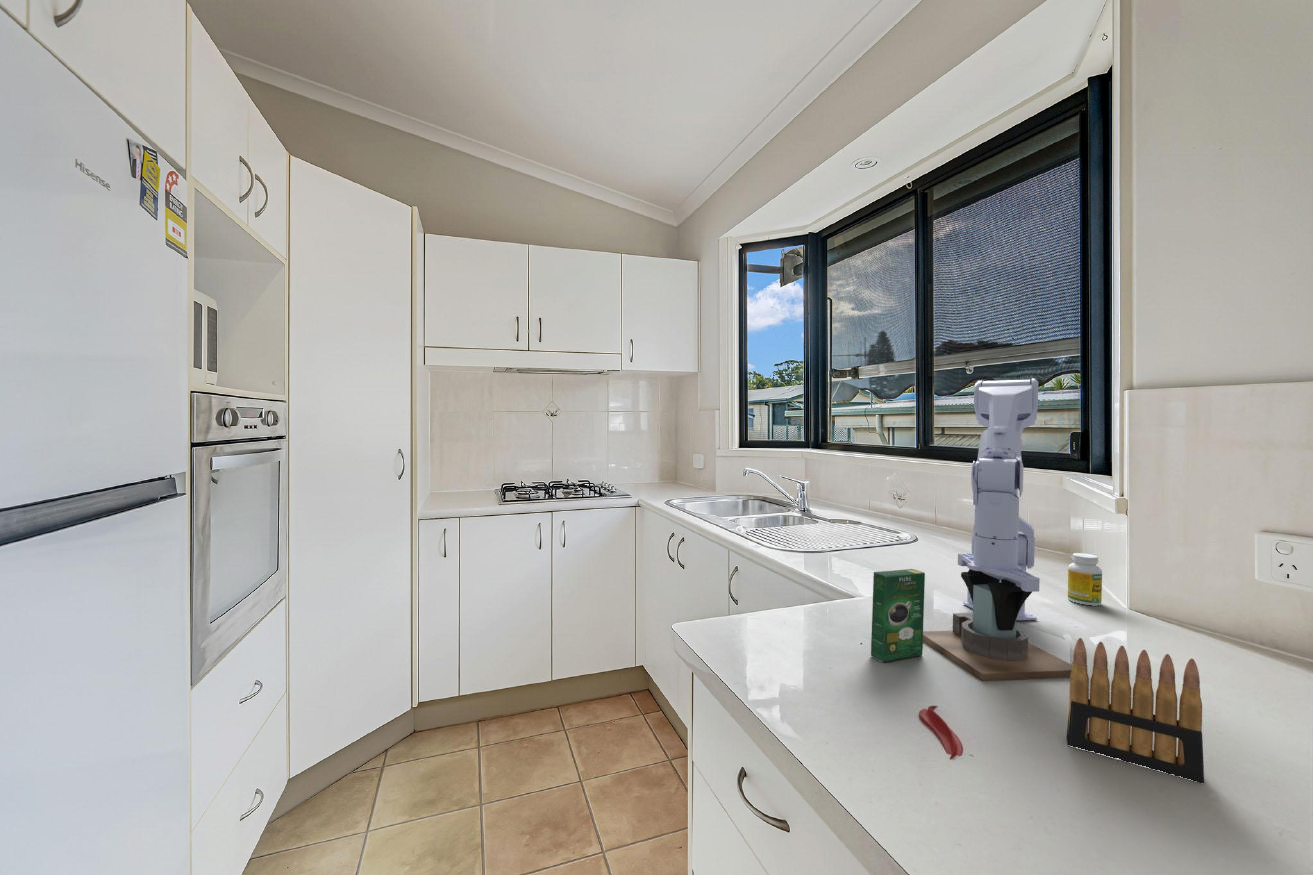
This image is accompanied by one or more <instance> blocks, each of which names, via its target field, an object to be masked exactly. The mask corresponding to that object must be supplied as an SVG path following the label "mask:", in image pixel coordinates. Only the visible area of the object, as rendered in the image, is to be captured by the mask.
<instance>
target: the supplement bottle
mask: <svg viewBox="0 0 1313 875" xmlns="http://www.w3.org/2000/svg"><path fill="white" fill-rule="evenodd" d="M1098 564H1099V557H1098V555H1095V554H1090V553H1084V552H1082V553H1081V552H1074V553H1072V563H1070V564H1068V568H1067V600H1069V601H1070V600H1071V601H1074V602H1076V603H1075V604H1077V603H1080V604H1079V605H1081V604H1087V605H1092V606H1091V607H1099V606H1101V605H1102V595H1103V594H1102V592H1103V570H1102V568H1101V567H1100V566H1098ZM1071 601H1070V602H1071ZM1074 602H1073V603H1074ZM1098 605H1099V606H1098Z"/></svg>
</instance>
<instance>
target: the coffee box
mask: <svg viewBox="0 0 1313 875" xmlns="http://www.w3.org/2000/svg"><path fill="white" fill-rule="evenodd" d="M872 578H873V581H872V582H873V583H872V584H873V585H872V608H871V609H872V610H871V611H872V612H871V616H872V617H871V641H870V657H873V659H874V660H875V659H876V661H878V662H881V663H886V662H894V661H897V660H902V659H903V660H904V659H909V658H916V657H919V656H923V649H924V641H923V631H924V616H925V614H924V613H925V588H926V587H925V582H926V581H925V580H926V573H925V572H923V571H921V570H917V569H914V568H908V569H896V570H886V571H884V570H883V571H874V572H873V576H872Z"/></svg>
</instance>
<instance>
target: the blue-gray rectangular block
mask: <svg viewBox="0 0 1313 875" xmlns="http://www.w3.org/2000/svg"><path fill="white" fill-rule="evenodd" d="M972 614H973V631H975V632H977V633H980V634H983V635H986V636H990V637H996V638H1002V639H1016V628H1017V620H1016V621H1015V624H1014V627H1013V630H1006V631H1001V630H998V628H997V624H996V618H995V606H994V601H993V597H992V594H991V591H990V589H989V587H988V584H977V585H974V587H973V609H972Z"/></svg>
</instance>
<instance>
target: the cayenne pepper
mask: <svg viewBox="0 0 1313 875" xmlns="http://www.w3.org/2000/svg"><path fill="white" fill-rule="evenodd" d="M937 707H938V705H929V706H928V707H927V708H923V709H921V710H920V711H919V712H918V715H919V719H920V720H921V721H922V723H923V724H925V725H926V727H928V729H930V730H931V731H933V733H934V734H935V735H936V736H937V738H938V739H939V740H940V742H941V744H942V746H943V748H944V750H945V753H946V755H950V758H949V760H952V759H953V758H954V757H956V756H957V757H962V755H963V750H964V749H963V748H964V747H963V744H962V742H961V740H960V738H959V737H958V735H957V734H956V733H955V732H954V731H953V730H952V728H950V726H949V725H948V724H947V722H945V720H944V719H943V718H942V717H941V716H940V715H939V714H938V713H936V711H934V710H935V709H936V708H937Z"/></svg>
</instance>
